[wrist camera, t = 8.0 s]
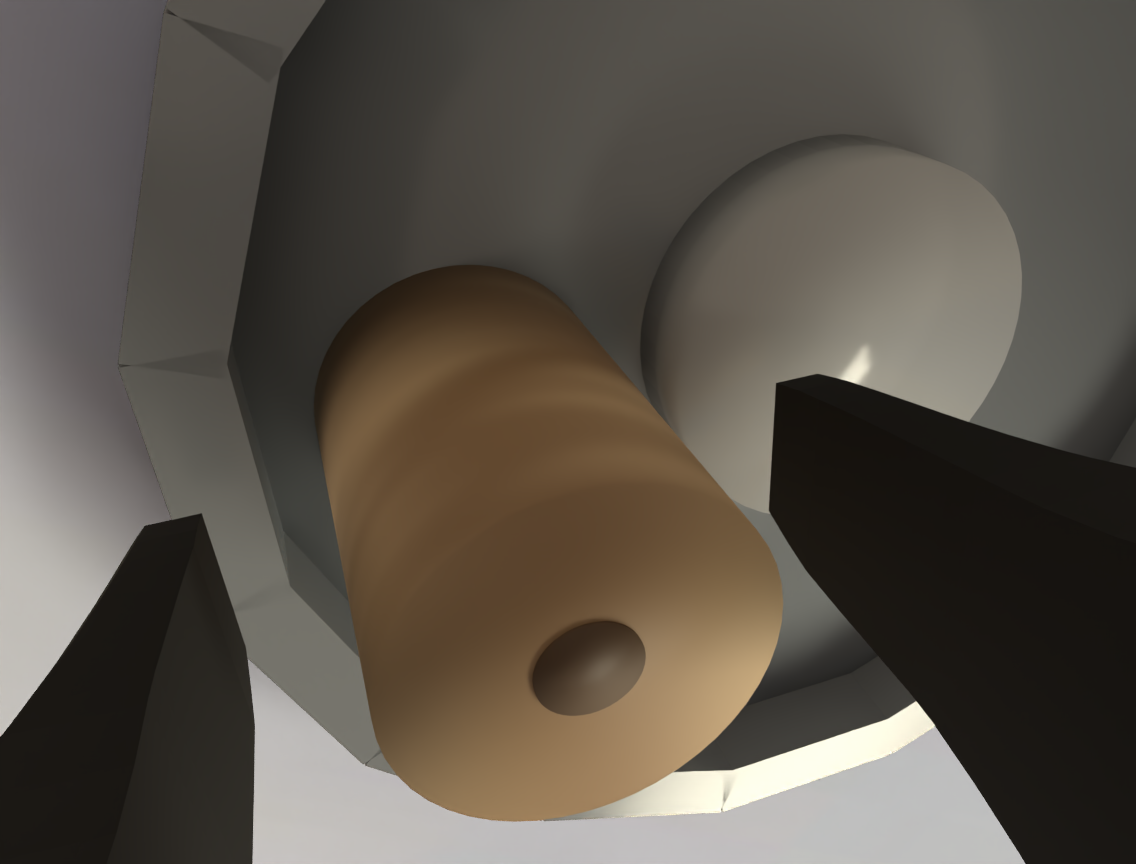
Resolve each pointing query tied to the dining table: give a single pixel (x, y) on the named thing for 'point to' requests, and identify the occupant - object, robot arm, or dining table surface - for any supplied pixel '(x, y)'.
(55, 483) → the dining table surface
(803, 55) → the round tray
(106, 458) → the dining table surface
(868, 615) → the robot arm
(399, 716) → the oak bead
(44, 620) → the dining table surface
